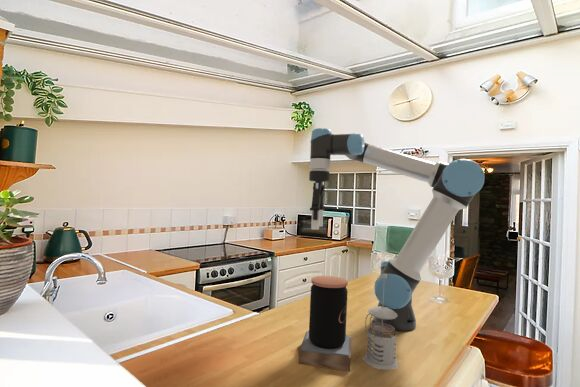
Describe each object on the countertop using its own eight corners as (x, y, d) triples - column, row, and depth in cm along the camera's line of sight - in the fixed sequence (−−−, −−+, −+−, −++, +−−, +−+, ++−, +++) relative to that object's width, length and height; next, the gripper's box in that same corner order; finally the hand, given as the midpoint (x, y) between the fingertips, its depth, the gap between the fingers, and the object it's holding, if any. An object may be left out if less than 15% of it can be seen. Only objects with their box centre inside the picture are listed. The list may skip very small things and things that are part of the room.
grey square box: (350, 348, 104) (351, 335, 104) (350, 371, 90) (350, 355, 90) (305, 342, 107) (306, 330, 107) (298, 363, 93) (299, 349, 93)
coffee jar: (344, 352, 92) (347, 286, 92) (305, 347, 94) (308, 282, 95) (345, 336, 103) (348, 277, 103) (311, 332, 105) (313, 274, 105)
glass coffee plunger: (377, 372, 90) (381, 278, 91) (352, 353, 101) (356, 269, 101) (406, 366, 94) (409, 276, 94) (379, 348, 105) (382, 267, 105)
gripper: (313, 173, 139) (311, 224, 139) (304, 167, 114) (302, 230, 114) (331, 173, 137) (329, 225, 137) (327, 168, 113) (324, 231, 113)
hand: (317, 227), depth 126 cm, fingers open, 13 cm apart
